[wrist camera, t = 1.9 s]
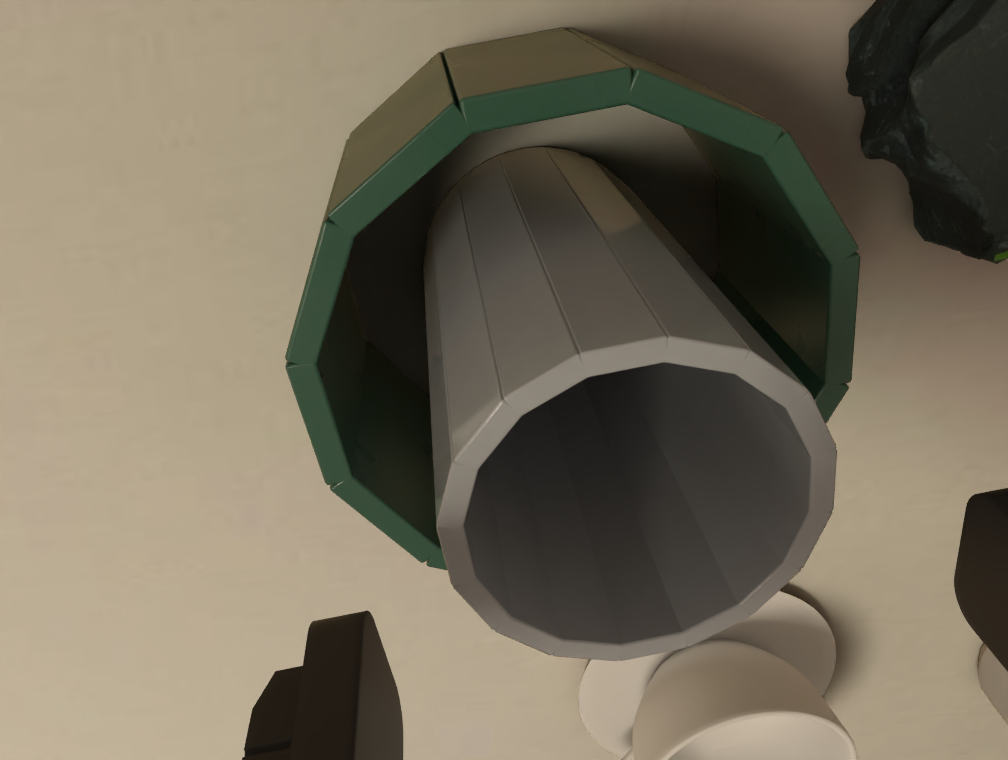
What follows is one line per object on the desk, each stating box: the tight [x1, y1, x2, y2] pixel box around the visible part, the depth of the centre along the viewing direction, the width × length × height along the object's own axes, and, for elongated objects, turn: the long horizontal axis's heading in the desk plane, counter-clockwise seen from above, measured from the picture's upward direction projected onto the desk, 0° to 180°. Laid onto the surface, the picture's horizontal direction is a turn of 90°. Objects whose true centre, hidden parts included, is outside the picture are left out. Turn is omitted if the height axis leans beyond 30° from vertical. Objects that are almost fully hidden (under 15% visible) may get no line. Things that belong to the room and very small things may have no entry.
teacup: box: [578, 591, 857, 760], centre depth 28 cm, size 10×10×5 cm
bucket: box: [285, 28, 860, 570], centre depth 19 cm, size 11×11×6 cm
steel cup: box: [423, 147, 837, 661], centre depth 17 cm, size 6×6×11 cm
